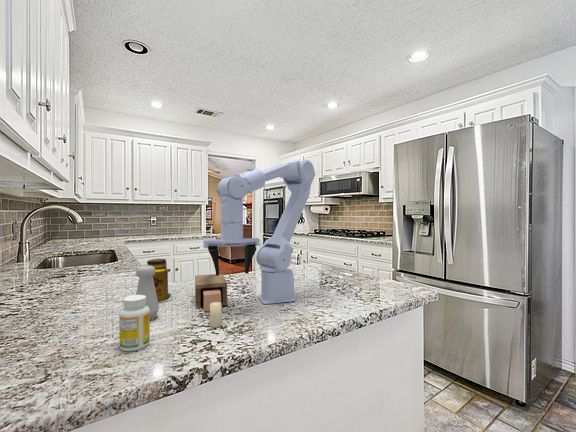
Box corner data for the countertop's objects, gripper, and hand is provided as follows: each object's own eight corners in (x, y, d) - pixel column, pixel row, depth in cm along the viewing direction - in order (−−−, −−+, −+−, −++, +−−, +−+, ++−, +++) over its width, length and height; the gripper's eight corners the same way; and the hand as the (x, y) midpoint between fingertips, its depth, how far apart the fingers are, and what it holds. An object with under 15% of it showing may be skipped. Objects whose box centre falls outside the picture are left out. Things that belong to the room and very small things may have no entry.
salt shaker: (148, 324, 69) (147, 269, 69) (127, 322, 70) (126, 268, 70) (163, 315, 75) (163, 264, 75) (143, 313, 76) (143, 263, 76)
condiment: (143, 304, 84) (143, 262, 83) (145, 296, 92) (144, 257, 91) (171, 301, 87) (170, 260, 86) (170, 293, 94) (170, 256, 94)
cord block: (219, 304, 83) (219, 286, 83) (226, 326, 68) (225, 304, 67) (203, 306, 81) (203, 288, 81) (206, 328, 66) (206, 306, 66)
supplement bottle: (126, 355, 55) (125, 303, 54) (115, 346, 58) (114, 298, 58) (154, 344, 59) (154, 297, 58) (142, 337, 62) (142, 292, 62)
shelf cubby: (222, 293, 94) (222, 273, 94) (227, 305, 83) (227, 282, 83) (195, 296, 92) (195, 275, 91) (195, 308, 80) (195, 285, 80)
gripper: (255, 221, 84) (255, 269, 84) (202, 222, 79) (203, 272, 80) (261, 222, 77) (261, 274, 77) (203, 223, 73) (204, 278, 73)
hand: (232, 273), depth 78 cm, fingers open, 7 cm apart
